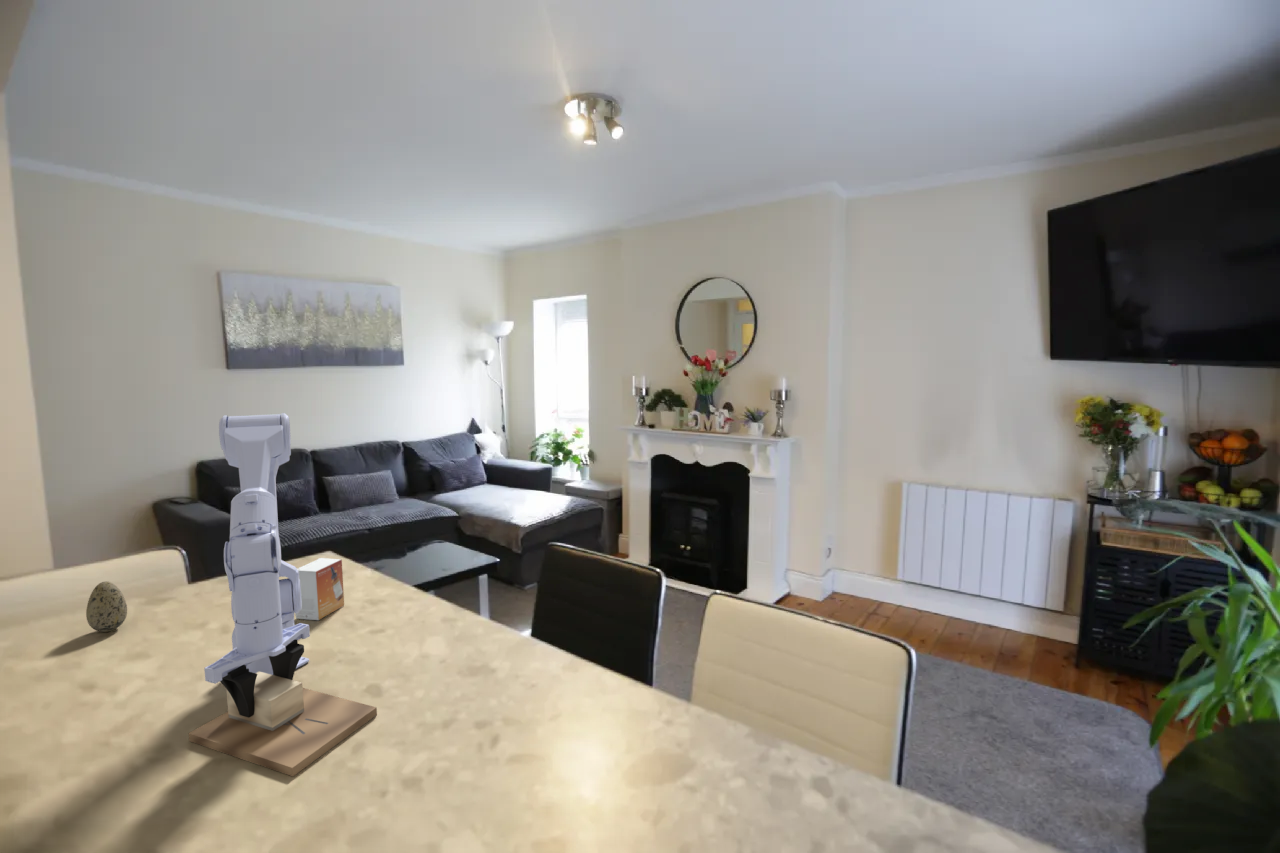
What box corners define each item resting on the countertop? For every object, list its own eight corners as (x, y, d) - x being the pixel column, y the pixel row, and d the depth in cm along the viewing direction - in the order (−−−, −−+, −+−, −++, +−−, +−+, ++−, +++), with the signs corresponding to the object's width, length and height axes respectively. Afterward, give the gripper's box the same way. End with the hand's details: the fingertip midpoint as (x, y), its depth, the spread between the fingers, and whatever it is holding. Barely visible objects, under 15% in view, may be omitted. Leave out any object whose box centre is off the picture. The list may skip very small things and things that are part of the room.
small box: (318, 621, 120) (315, 571, 119) (294, 619, 121) (291, 569, 120) (345, 605, 128) (342, 558, 126) (323, 603, 129) (320, 557, 127)
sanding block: (228, 717, 86) (226, 688, 85) (261, 698, 90) (259, 671, 90) (272, 731, 83) (270, 700, 82) (304, 711, 87) (302, 682, 87)
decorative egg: (88, 630, 116) (83, 581, 115) (128, 621, 120) (123, 574, 119) (88, 640, 112) (82, 590, 111) (129, 631, 116) (124, 582, 115)
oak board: (189, 741, 82) (188, 733, 82) (281, 688, 95) (280, 681, 95) (293, 776, 75) (292, 767, 75) (376, 714, 88) (376, 707, 88)
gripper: (226, 642, 77) (235, 739, 78) (321, 600, 90) (327, 683, 92) (190, 634, 79) (199, 728, 81) (288, 594, 93) (294, 675, 94)
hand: (265, 704), depth 86 cm, fingers closed on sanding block, 5 cm apart
